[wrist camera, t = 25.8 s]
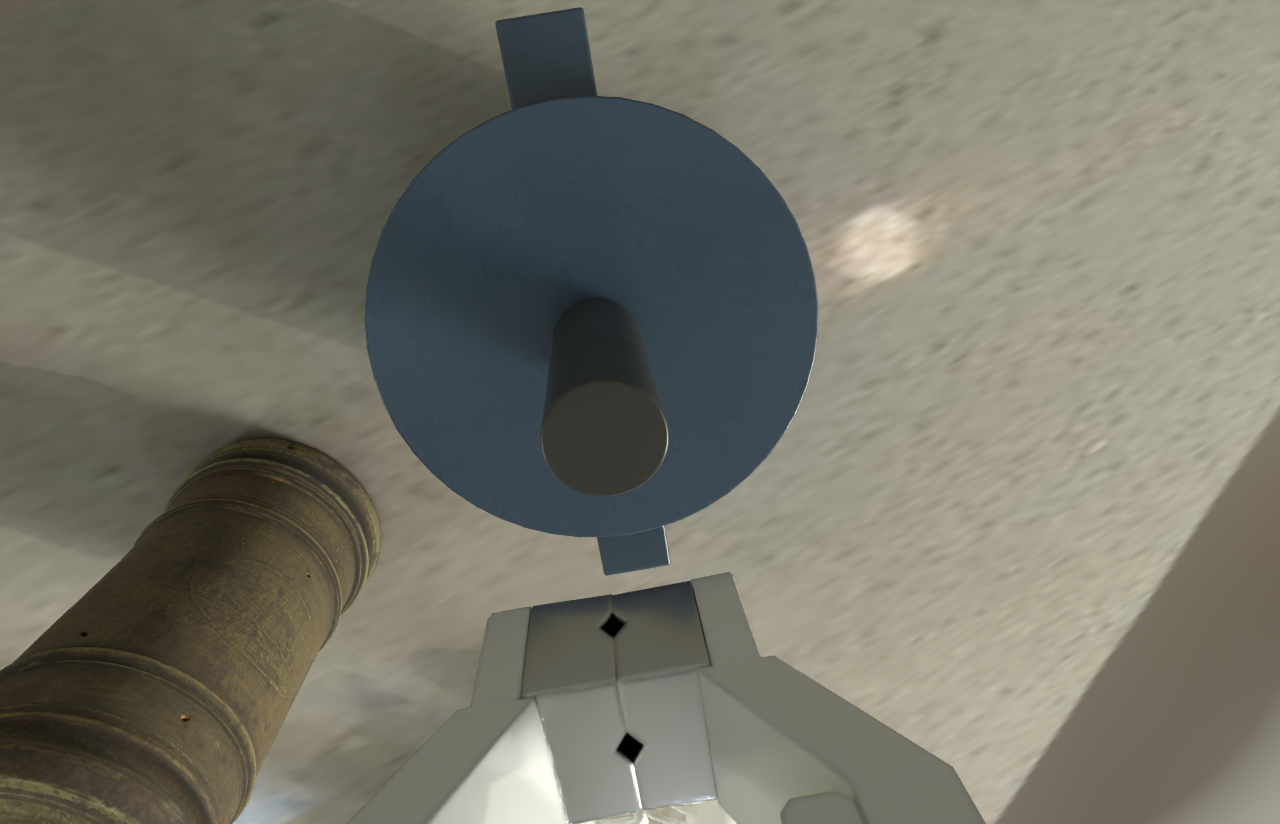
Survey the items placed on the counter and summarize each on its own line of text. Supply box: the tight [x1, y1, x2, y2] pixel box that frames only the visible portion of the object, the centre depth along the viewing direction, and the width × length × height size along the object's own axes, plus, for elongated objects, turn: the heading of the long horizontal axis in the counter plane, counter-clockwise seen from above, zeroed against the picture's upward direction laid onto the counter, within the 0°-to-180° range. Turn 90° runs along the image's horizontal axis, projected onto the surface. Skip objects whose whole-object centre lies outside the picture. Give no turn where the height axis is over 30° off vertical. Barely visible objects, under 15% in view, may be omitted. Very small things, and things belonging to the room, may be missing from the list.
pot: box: [496, 7, 670, 575], centre depth 27 cm, size 12×18×10 cm
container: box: [0, 438, 381, 824], centre depth 26 cm, size 9×9×18 cm
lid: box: [365, 96, 818, 537], centre depth 19 cm, size 13×13×9 cm
